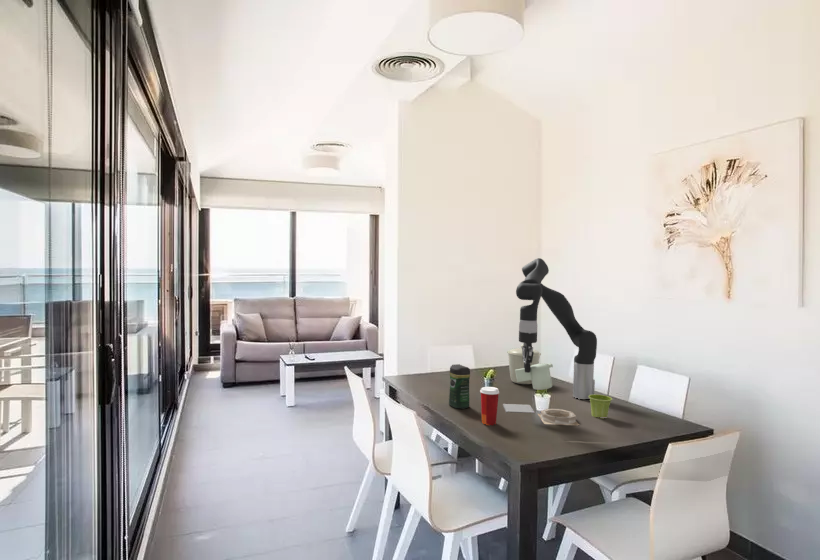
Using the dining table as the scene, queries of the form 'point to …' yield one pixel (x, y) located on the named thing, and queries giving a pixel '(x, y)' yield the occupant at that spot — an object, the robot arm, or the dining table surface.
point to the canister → (520, 363)
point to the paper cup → (489, 405)
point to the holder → (558, 417)
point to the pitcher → (536, 376)
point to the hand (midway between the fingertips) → (526, 371)
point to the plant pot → (599, 405)
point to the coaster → (518, 408)
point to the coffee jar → (459, 386)
